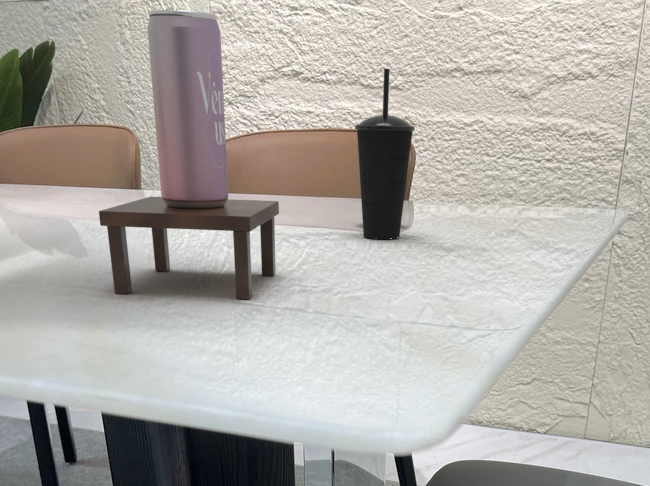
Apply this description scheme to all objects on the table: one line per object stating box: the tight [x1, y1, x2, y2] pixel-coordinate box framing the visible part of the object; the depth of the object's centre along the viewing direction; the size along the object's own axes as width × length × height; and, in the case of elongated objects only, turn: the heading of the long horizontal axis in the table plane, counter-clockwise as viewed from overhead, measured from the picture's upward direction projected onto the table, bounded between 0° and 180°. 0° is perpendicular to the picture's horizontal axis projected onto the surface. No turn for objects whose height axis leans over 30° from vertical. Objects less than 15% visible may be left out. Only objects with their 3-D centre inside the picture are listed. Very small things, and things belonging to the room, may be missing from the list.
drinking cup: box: [354, 68, 416, 240], centre depth 99 cm, size 8×8×20 cm
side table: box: [98, 196, 280, 300], centre depth 72 cm, size 13×13×7 cm
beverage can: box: [146, 9, 229, 209], centre depth 67 cm, size 6×6×15 cm
